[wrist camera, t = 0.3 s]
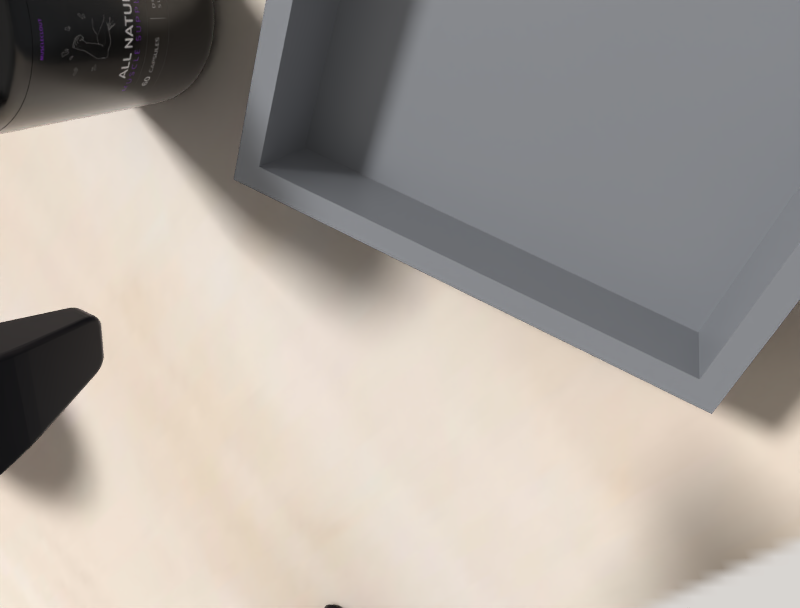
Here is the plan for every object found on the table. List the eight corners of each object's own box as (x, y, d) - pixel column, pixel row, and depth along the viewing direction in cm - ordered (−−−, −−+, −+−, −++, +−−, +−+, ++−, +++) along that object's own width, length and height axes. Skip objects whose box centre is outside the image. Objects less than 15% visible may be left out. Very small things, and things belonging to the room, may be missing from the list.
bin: (708, 354, 21) (711, 414, 18) (289, 155, 24) (233, 179, 21) (1155, -267, 13) (1294, -343, 10) (428, -460, 16) (368, -562, 13)
